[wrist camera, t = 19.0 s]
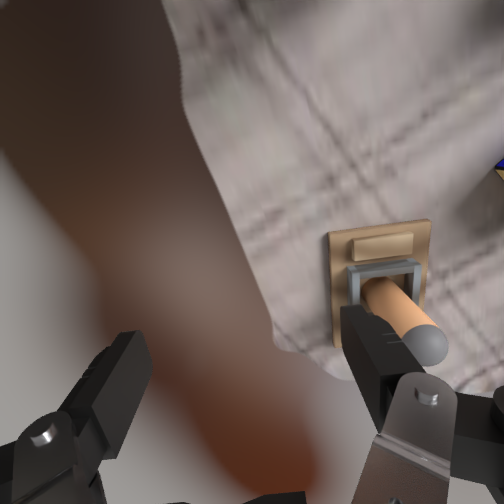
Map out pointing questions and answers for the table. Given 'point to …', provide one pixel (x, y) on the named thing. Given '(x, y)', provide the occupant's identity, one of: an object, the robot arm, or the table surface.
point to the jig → (377, 263)
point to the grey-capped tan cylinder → (406, 320)
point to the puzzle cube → (500, 169)
